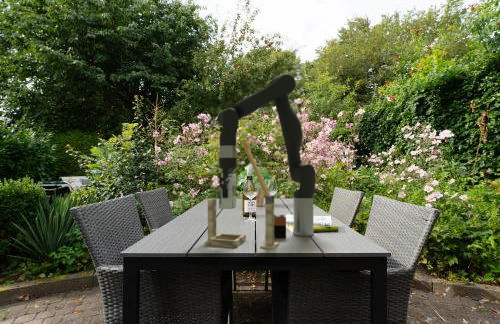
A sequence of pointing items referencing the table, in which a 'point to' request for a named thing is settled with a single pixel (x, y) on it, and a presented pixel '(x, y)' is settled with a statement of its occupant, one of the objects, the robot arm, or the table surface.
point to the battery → (279, 226)
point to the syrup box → (231, 200)
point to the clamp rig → (236, 239)
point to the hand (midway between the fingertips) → (227, 197)
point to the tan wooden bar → (255, 167)
